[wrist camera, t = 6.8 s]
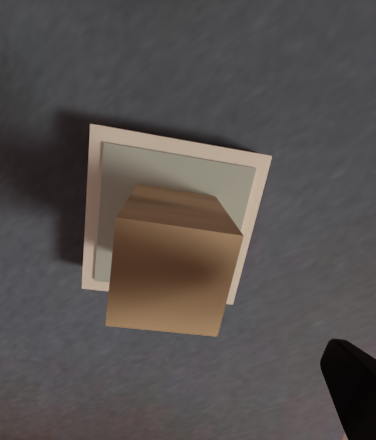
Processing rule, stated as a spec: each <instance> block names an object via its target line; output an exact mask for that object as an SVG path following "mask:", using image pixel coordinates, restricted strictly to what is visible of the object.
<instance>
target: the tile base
mask: <svg viewBox="0 0 376 440" xmlns="http://www.w3.org/2000/svg"><path fill="white" fill-rule="evenodd" d="M271 159H272V156H270V155H265V154H261V153H256V152H250V151H245V150H239V149H234V148H228V147H222V146H217V145H211V144H206V143H200V142H194V141H189V140H183V139H178V138H172V137H166V136H161V135H155V134H150V133H144V132H138V131H133V130H127V129H122V128H116V127H110V126H105V125H97V124H90V135H89V155H88V175H87V194H86V214H85V233H84V253H83V273H82V289H91V290H100V291H109V283H110V273H111V262H112V252H113V241H114V231H115V221H116V216H117V215H118V213H119V212H120V210H121V209H122V207H123V205H124V204H125V202H126V201H127V199H128V198H129V196H130V195H131V193H132V191H133V190H134V188H135V187H136V185H137V184H141V185H147V186H153V187H159V188H166V189H172V190H178V191H184V192H190V193H197V194H203V195H209V196H215V197H216V198H217V199H218V200H219V202H220V203H221V205H222V206H223V207H224V209H225V210H226V212H227V213H228V214H229V216H230V217H231V219H232V220H233V221H234V223H235V224H236V226H237V227H238V229H239V230H240V231H241V233H242V234H243V236H244V237H243V241H242V244H241V248H240V252H239V256H238V260H237V263H236V267H235V271H234V275H233V279H232V283H231V286H230V290H229V294H228V298H227V302H226V304H231V305H233V302H234V299H235V295H236V291H237V287H238V284H239V280H240V276H241V272H242V268H243V265H244V261H245V257H246V253H247V250H248V246H249V242H250V238H251V235H252V231H253V227H254V223H255V219H256V216H257V212H258V208H259V204H260V201H261V197H262V193H263V189H264V186H265V182H266V178H267V174H268V170H269V167H270V163H271Z"/></svg>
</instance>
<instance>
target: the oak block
mask: <svg viewBox="0 0 376 440" xmlns="http://www.w3.org/2000/svg"><path fill="white" fill-rule="evenodd" d="M243 237H244V236H243V234H242V233H241V231H240V230H239V229H238V227H237V226H236V224H235V223H234V221H233V220H232V219H231V217H230V216H229V214H228V213H227V212H226V210H225V209H224V207H223V206H222V205H221V203H220V202H219V200H218V199H217V198H216V197H215V196H209V195H203V194H197V193H190V192H184V191H178V190H172V189H166V188H159V187H153V186H147V185H141V184H137V185H136V187H135V188H134V190H133V191H132V193H131V195H130V196H129V198H128V199H127V201H126V202H125V204H124V205H123V207H122V209H121V210H120V212H119V213H118V215H117V216H116V221H115V231H114V241H113V252H112V262H111V273H110V283H109V294H108V304H107V315H106V325H105V326H113V327H123V328H133V329H144V330H154V331H165V332H175V333H185V334H196V335H206V336H216V337H217V336H218V332H219V328H220V324H221V321H222V317H223V313H224V309H225V305H226V302H227V298H228V294H229V290H230V286H231V283H232V279H233V275H234V271H235V267H236V263H237V260H238V256H239V252H240V248H241V244H242V241H243Z"/></svg>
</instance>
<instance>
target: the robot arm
mask: <svg viewBox="0 0 376 440" xmlns="http://www.w3.org/2000/svg"><path fill="white" fill-rule="evenodd" d="M320 366H321V371H322V373H323V376H324V379H325V381H326V384H327V387H328V389H329V392H330V395H331V397H332V400H333V403H334V405H335V408H336V411H337V413H338V416H339V419H340V421H341V424H342V426H343V429H344V431H345V433H346V436H347V438H348V440H376V359H374V358H373V357H371V356H370V355H368V354H367V353H365V352H364V351H362V350H361V349H359V348H358V347H356V346H355V345H353V344H351V343H350V342H348V341H346V340H342V339H331V340H330V341H329V342H328V344H327V346H326V349H325V351H324V353H323V356H322V358H321V361H320Z"/></svg>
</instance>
